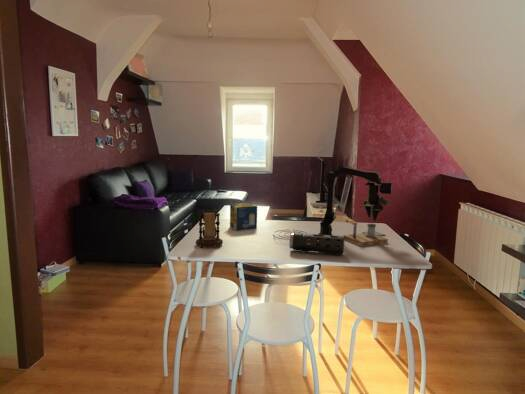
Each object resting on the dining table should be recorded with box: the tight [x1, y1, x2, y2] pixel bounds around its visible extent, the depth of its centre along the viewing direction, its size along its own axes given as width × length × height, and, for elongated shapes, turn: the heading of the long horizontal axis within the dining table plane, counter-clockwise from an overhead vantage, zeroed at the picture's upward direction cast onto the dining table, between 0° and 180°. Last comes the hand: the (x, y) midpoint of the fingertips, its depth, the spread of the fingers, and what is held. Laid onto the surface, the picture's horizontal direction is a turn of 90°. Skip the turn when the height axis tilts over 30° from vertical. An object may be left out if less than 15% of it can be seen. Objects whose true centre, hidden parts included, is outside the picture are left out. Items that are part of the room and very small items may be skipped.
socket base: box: [343, 232, 389, 247], centre depth 225 cm, size 20×16×2 cm
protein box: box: [229, 202, 258, 231], centre depth 249 cm, size 10×15×16 cm
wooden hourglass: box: [195, 209, 224, 249], centre depth 207 cm, size 15×15×20 cm
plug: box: [366, 223, 377, 238], centre depth 226 cm, size 5×5×10 cm
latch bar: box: [342, 215, 358, 238], centre depth 229 cm, size 19×2×9 cm, turn 7°
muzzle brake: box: [289, 231, 345, 256], centre depth 199 cm, size 10×28×10 cm, turn 78°
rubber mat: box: [361, 230, 386, 237], centre depth 242 cm, size 10×10×1 cm
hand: (371, 218), depth 225 cm, fingers open, 9 cm apart
